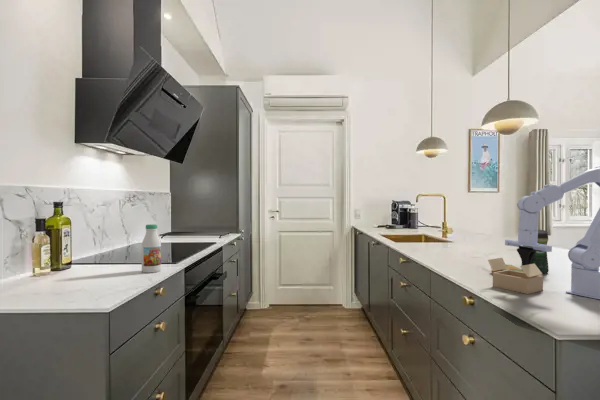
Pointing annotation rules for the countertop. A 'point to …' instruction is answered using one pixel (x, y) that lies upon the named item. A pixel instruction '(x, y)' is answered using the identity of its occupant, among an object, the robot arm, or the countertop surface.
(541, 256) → the coffee jar
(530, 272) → the flap
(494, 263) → the far flap
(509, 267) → the carton
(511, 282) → the brown carton
